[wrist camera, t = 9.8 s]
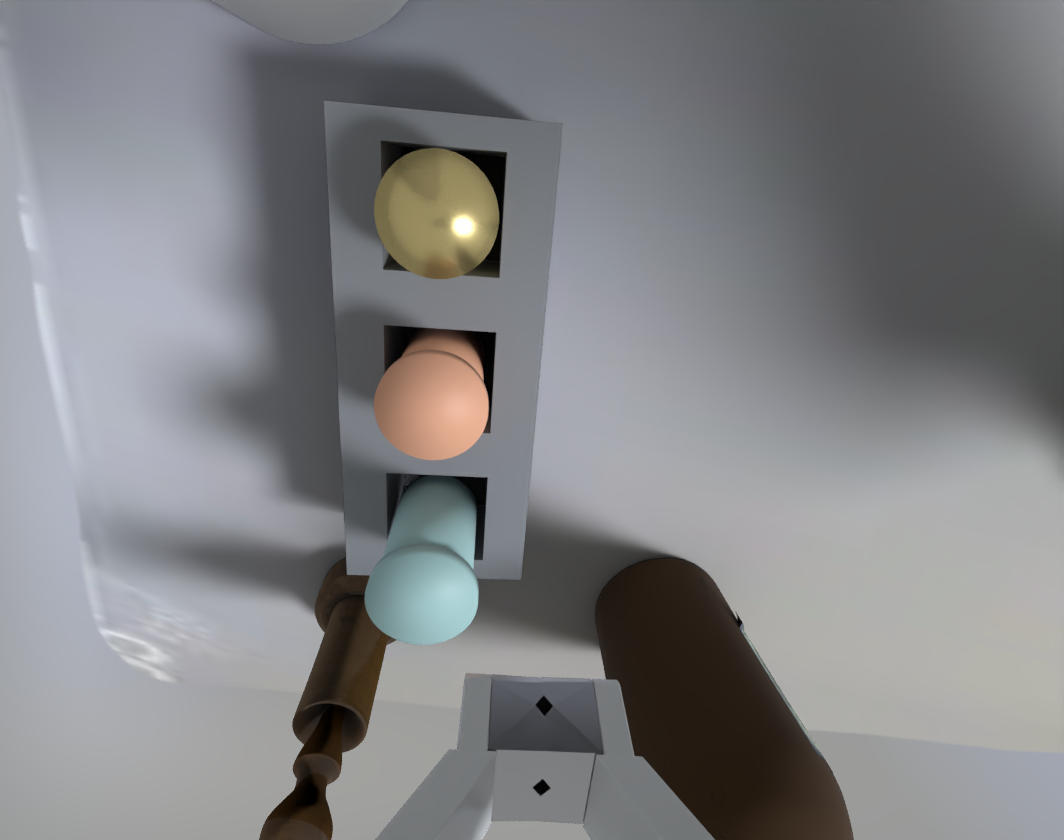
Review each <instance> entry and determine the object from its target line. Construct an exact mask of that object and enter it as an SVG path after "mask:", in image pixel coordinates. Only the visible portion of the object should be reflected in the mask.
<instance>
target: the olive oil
mask: <svg viewBox="0 0 1064 840" xmlns="http://www.w3.org/2000/svg"><path fill="white" fill-rule="evenodd" d="M736 615H737V614H736ZM737 616H738V615H737ZM737 619H738V621H737ZM737 619H736V617H735V615H734V614H733V612H732V610H731V609H730V607H729V605H728V604H727V602H726V600H725V598H724V597H723V595H722V593H721V592H720V590H719V588H718V587H717V585H716V583H715V582H714V581H713V579H712V578H711V577H710V576H709V575H708V574H707V573H706V572H705V571H704V570H703V569H701V568H700V567H698V566H696V565H694V564H692V563H690V562H687V561H683V560H679V559H670V558H661V559H653V560H648V561H644V562H641V563H638V564H635V565H633V566H631V567H629V568H627V569H625V570H624V571H622V572H621V573H619V574H618V575H617V576H615V577H614V578H613V579H612V580H611V581H610V582H609V583H608V584H607V586H606V587H605V588H604V590H603V591H602V593H601V595H600V597H599V599H598V602H597V605H596V612H595V620H596V627H597V633H598V638H599V644H600V649H601V655H602V660H603V665H604V671H605V677H606V679H607V680H617V681H618V682H619V684H620V687H621V692H622V697H623V702H624V707H625V712H626V717H627V722H628V727H629V731H630V736H631V741H632V746H633V751H634V756H641V757H643V758H644V759H645V760H646V761H647V763H648V764H649V765H650V766H651V767H652V768H653V769H654V771H655V772H656V773H657V774H658V775H659V776H660V777H661V779H662V780H663V781H664V782H665V783H666V784H667V785H668V787H669V788H670V789H671V790H672V791H673V792H674V793H675V795H676V796H677V797H678V798H679V799H680V800H681V801H682V803H683V804H684V805H685V806H686V807H687V808H688V809H689V811H690V812H691V813H692V814H693V815H694V816H695V817H696V819H697V820H698V821H699V822H700V823H701V824H702V825H703V827H704V828H705V829H706V830H707V831H708V832H709V833H710V835H711V836H712V837H713V838H714V839H715V840H854V839H853V832H852V828H851V823H850V819H849V815H848V811H847V808H846V804H845V801H844V798H843V795H842V792H841V790H840V787H839V785H838V783H837V781H836V779H835V777H834V775H833V772H832V770H831V769H830V767H829V765H828V764H827V762H826V760H825V759H824V757H823V756H822V754H821V752H820V751H819V749H818V748H817V746H816V745H815V743H814V741H813V740H812V738H811V737H810V735H809V734H808V732H807V730H806V729H805V727H804V726H803V724H802V723H801V721H800V719H799V718H798V716H797V715H796V713H795V712H794V710H793V708H792V707H791V705H790V704H789V702H788V701H787V699H786V697H785V696H784V694H783V693H782V691H781V689H780V688H779V686H778V685H777V683H776V681H775V680H774V678H773V677H772V675H771V673H770V672H769V670H768V669H767V667H766V665H765V664H764V662H763V661H762V659H761V657H760V656H759V654H758V653H757V651H756V649H755V648H754V646H753V645H752V643H751V641H750V640H749V638H748V636H747V635H746V633H745V632H744V625H743V623H742V621H741V620H740V618H739V616H738V618H737Z"/></svg>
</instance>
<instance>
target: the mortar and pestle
mask: <svg viewBox="0 0 1064 840" xmlns="http://www.w3.org/2000/svg"><path fill="white" fill-rule="evenodd" d="M369 577H370V575H347V563H346V558H345V559H343V560H341V561H340V562H338V563H337V564H336V565H334V566H333V567H332V568H331V569H330V571H329V572H328V574H327V575H326V577H325V579H324V581H323V584H322V587H321V589H320V592H319V594H318V597H317V600H316V604H315V615H316V619H317V622H318V624H319V626H320V627H321V629H322V630H323V631H324V632H325V634H324V637H323V640H322V643H321V646H320V649H319V651H318V654H317V657H316V660H315V662H314V665H313V668H312V671H311V673H310V676H309V679H308V682H307V684H306V687H305V690H304V692H303V695H302V697H301V700H300V703H299V705H298V708H297V711H296V713H295V716H294V719H293V725H292V726H293V731H294V733H295V735H296V737H297V738H298V739H299V740H300V741H301V742H302V743H303V744H304V746H303V748H302V749H301V751H300V753H299V754H298V756H297V758H296V760H295V762H294V765H293V772H294V774H295V777H296V778H297V782H296V787H295V789H294V791H293V792H292V793H291V794H290V795H288V796H287V797H286V798H285V799H284V800H283V801H282V802H281V803H280V804H279V805H278V806H277V807H276V808H275V809H274V810H273V811H272V813H271V814H270V815H269V816H268V818H267V819H266V821H265V824H264V825H263V828H262V831H261V834H260V839H259V840H331V838H332V831H333V825H332V818H331V814H330V810H329V806H328V803H327V800H326V796H325V794H326V786H327V785H328V784H330V783H332V782H334V781H335V780H336V779H337V778H338V777H339V775H340V772H341V765H342V753H343V752H347V751H349V750H352V749H354V748H355V747H357V746H358V745H359V744H360V743H361V742H362V741H363V740H364V738H365V736H366V733H367V729H368V724H369V720H370V715H371V710H372V706H373V701H374V697H375V693H376V689H377V684H378V680H379V675H380V671H381V667H382V662H383V658H384V653H385V649H386V645H388V644H390V643H392V642H394V641H395V640H396V639H394V638H392V637H390V636H388V635H387V634H385V633H384V632H382V631H381V630H380V629H379V628H378V627H377V626H376V625H375V624H374V623H373V622H372V620H371V619H370V617H369V615H368V613H367V610H366V606H365V591H366V587H367V584H368V580H369Z"/></svg>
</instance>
